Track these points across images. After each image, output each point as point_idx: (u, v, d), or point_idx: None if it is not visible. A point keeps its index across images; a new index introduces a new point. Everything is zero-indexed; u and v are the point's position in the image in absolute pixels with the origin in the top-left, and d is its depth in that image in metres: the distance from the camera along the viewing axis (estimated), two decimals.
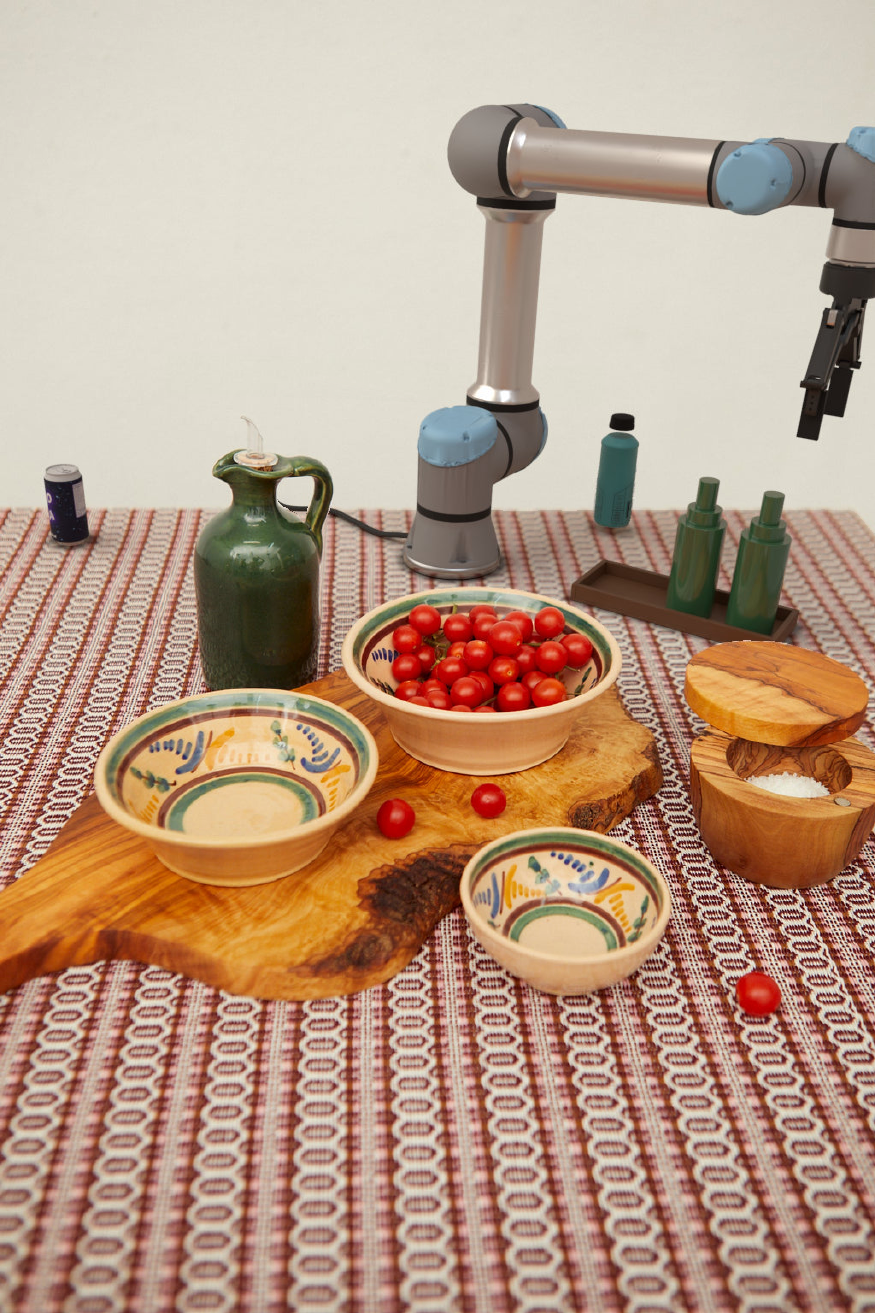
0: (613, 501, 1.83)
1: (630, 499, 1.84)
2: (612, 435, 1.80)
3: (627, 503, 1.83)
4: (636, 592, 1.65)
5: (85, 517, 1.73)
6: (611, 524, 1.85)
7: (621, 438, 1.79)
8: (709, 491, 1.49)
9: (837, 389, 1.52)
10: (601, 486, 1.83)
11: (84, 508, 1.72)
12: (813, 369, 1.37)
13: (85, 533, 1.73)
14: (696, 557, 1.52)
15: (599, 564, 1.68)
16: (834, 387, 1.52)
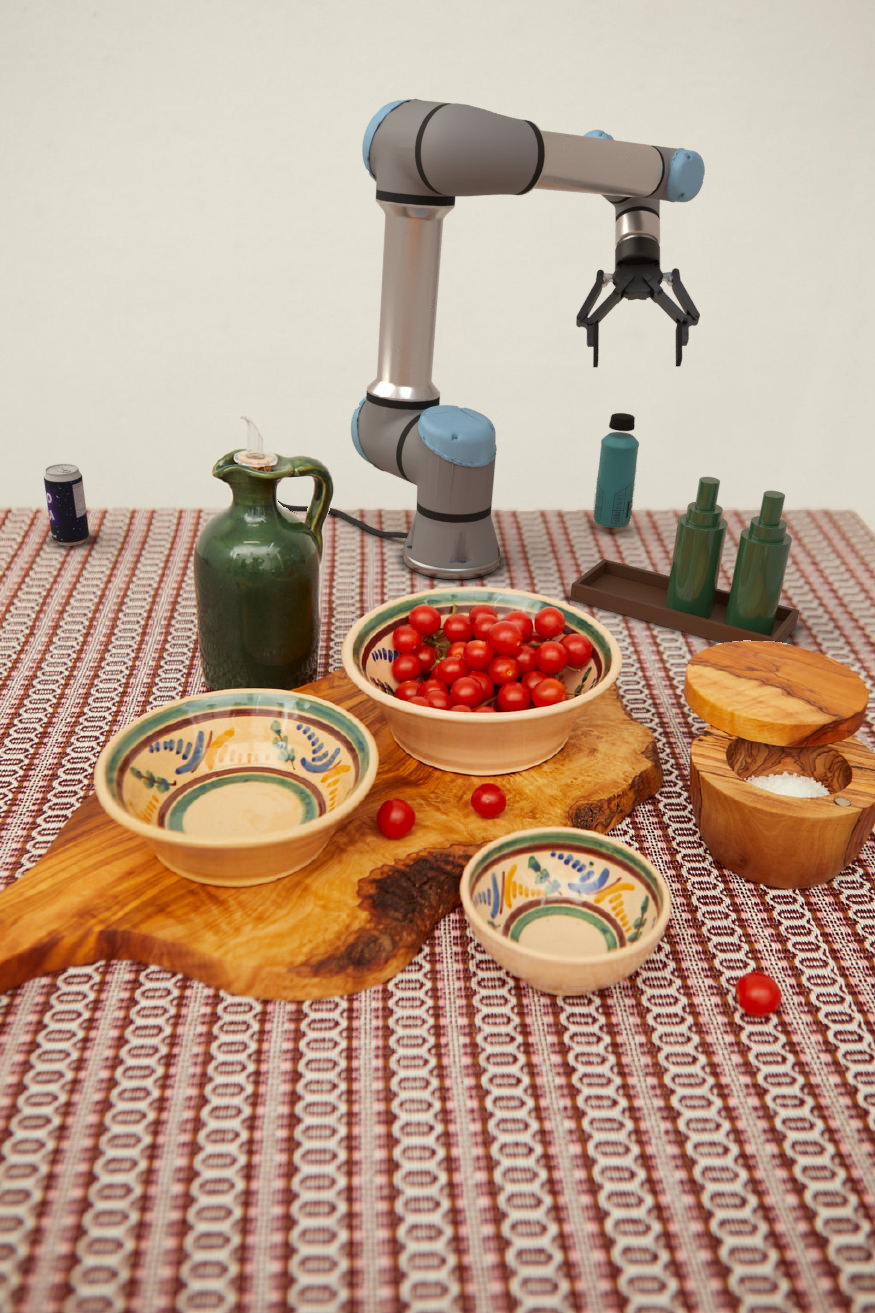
0: (613, 501, 1.83)
1: (630, 499, 1.84)
2: (612, 435, 1.80)
3: (627, 503, 1.83)
4: (636, 592, 1.65)
5: (85, 517, 1.73)
6: (611, 524, 1.85)
7: (621, 438, 1.79)
8: (709, 491, 1.49)
9: None
10: (601, 486, 1.83)
11: (84, 508, 1.72)
12: None
13: (85, 533, 1.73)
14: (696, 557, 1.52)
15: (599, 564, 1.68)
16: None
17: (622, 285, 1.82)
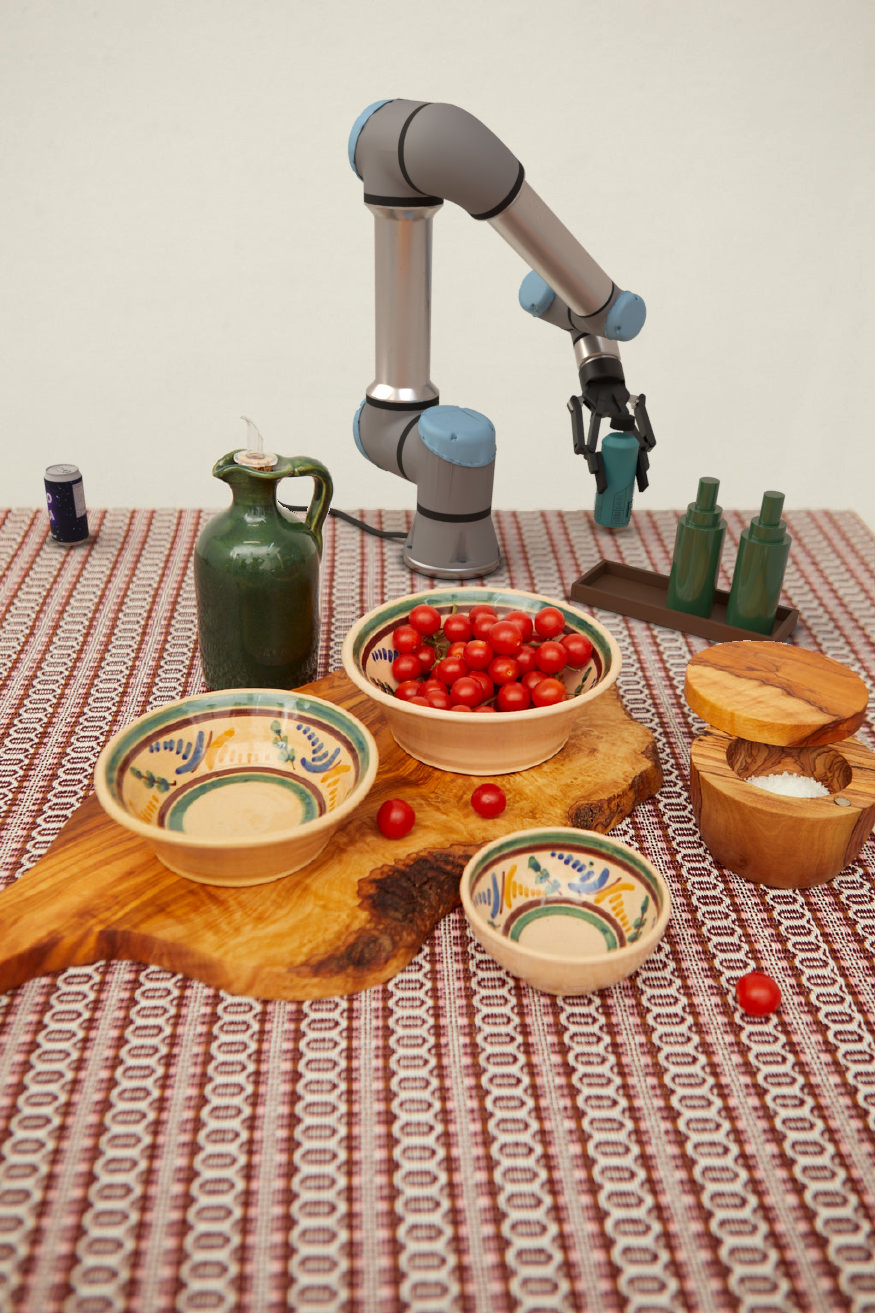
0: (614, 501, 1.83)
1: (630, 499, 1.84)
2: (612, 435, 1.80)
3: (627, 503, 1.83)
4: (636, 592, 1.65)
5: (85, 517, 1.73)
6: (611, 524, 1.85)
7: (621, 438, 1.79)
8: (709, 491, 1.49)
9: None
10: None
11: (84, 508, 1.72)
12: None
13: (85, 533, 1.73)
14: (696, 557, 1.52)
15: (599, 564, 1.68)
16: None
17: (601, 406, 1.83)
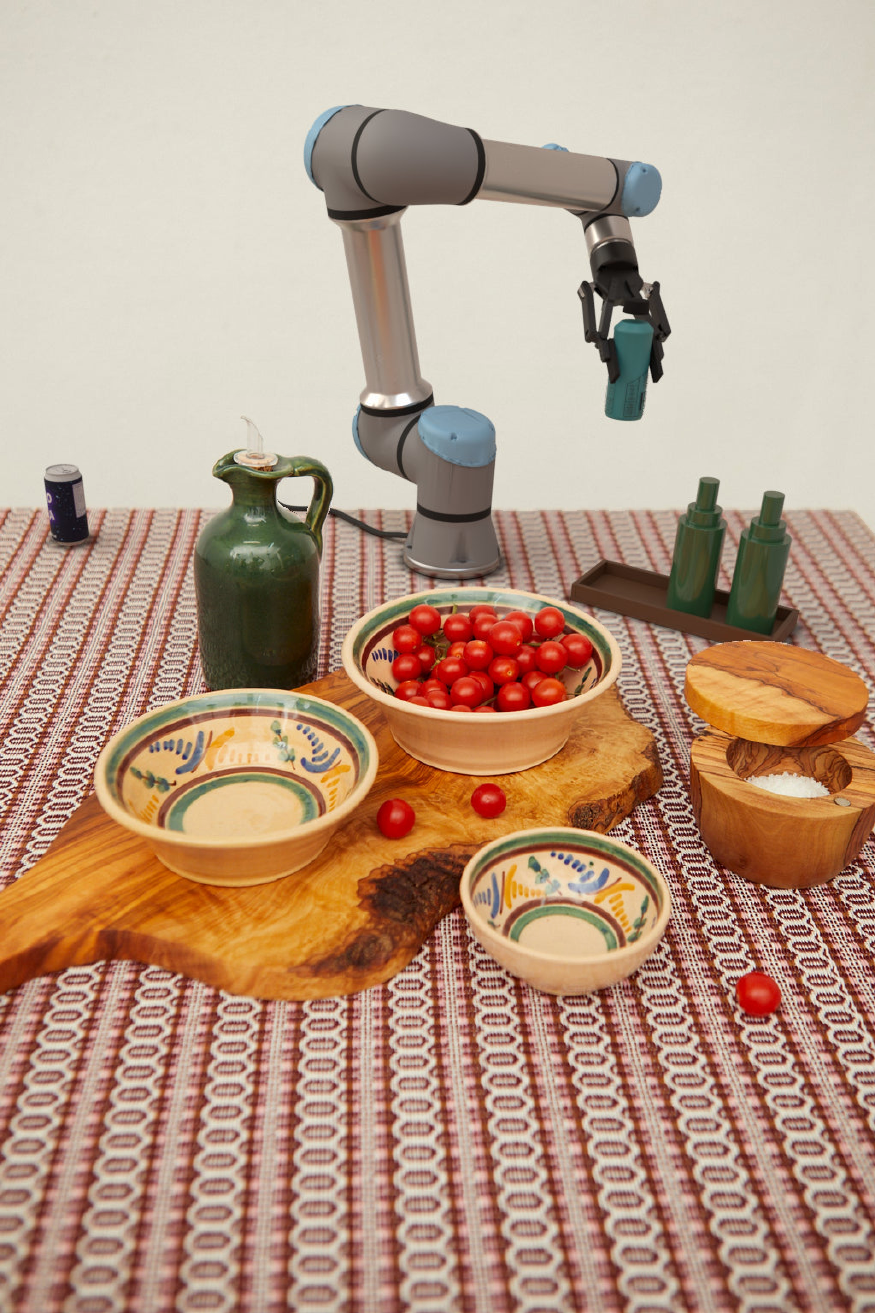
0: (626, 392, 1.74)
1: (643, 390, 1.75)
2: (625, 321, 1.72)
3: (640, 394, 1.75)
4: (636, 592, 1.65)
5: (85, 517, 1.73)
6: (623, 417, 1.76)
7: (635, 323, 1.70)
8: (709, 491, 1.49)
9: None
10: None
11: (84, 508, 1.72)
12: None
13: (85, 533, 1.73)
14: (696, 557, 1.52)
15: (599, 564, 1.68)
16: None
17: (613, 292, 1.74)
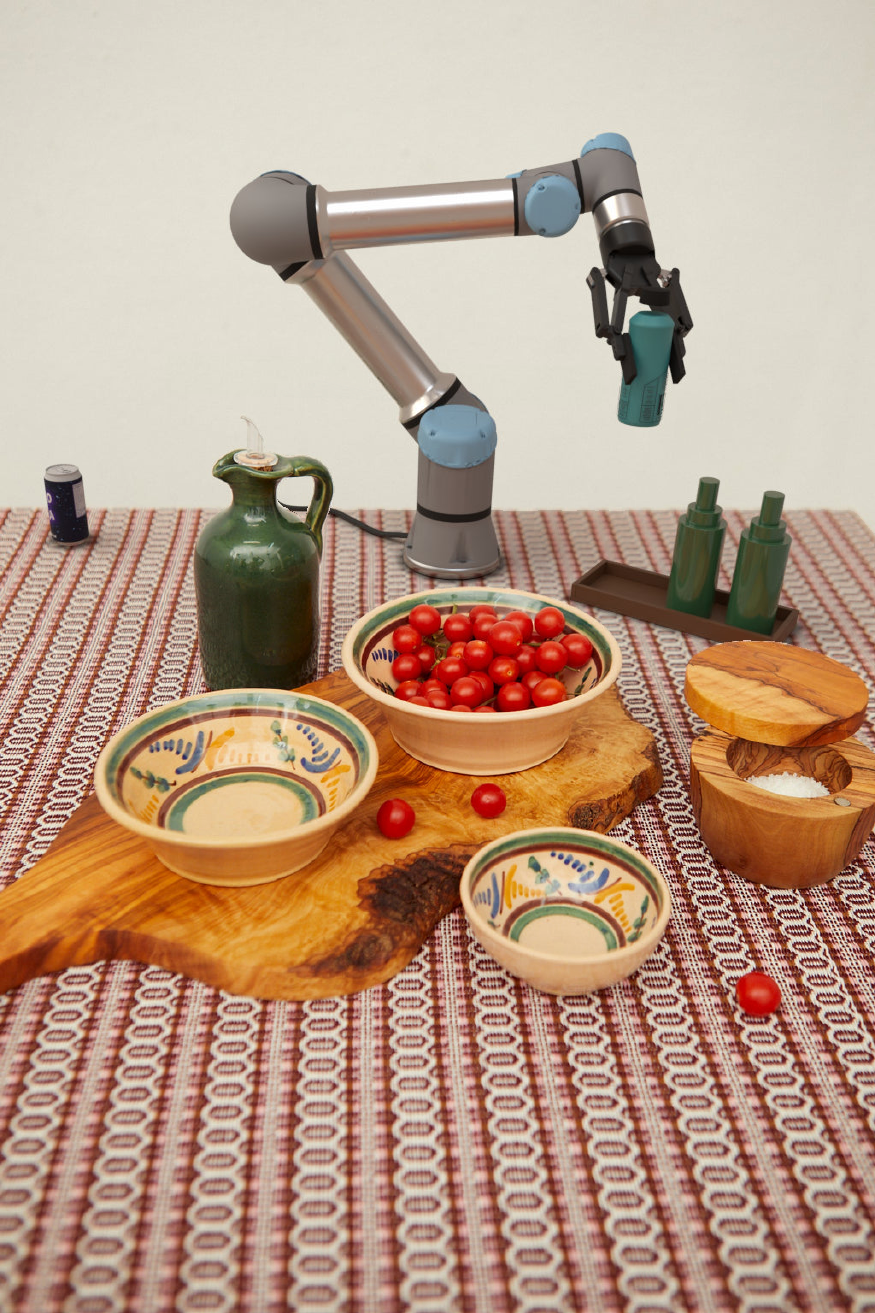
0: (643, 394, 1.52)
1: (662, 392, 1.53)
2: (642, 313, 1.50)
3: (659, 397, 1.53)
4: (636, 592, 1.65)
5: (85, 517, 1.73)
6: (639, 423, 1.54)
7: (654, 315, 1.49)
8: (709, 491, 1.49)
9: None
10: None
11: (84, 508, 1.72)
12: None
13: (85, 533, 1.73)
14: (696, 557, 1.52)
15: (599, 564, 1.68)
16: None
17: (627, 280, 1.53)
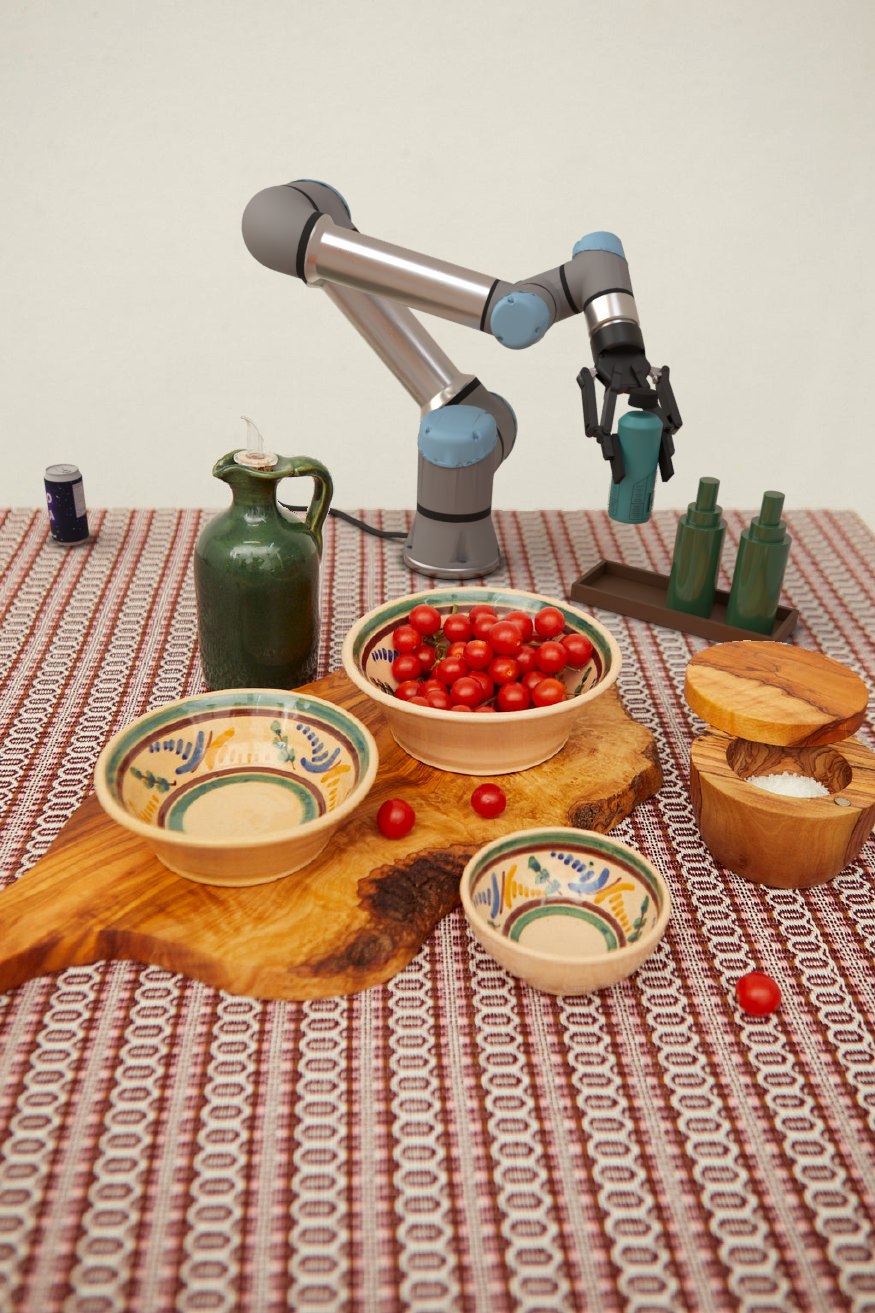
0: (632, 493, 1.54)
1: (652, 490, 1.55)
2: (631, 414, 1.52)
3: (648, 495, 1.55)
4: (636, 592, 1.65)
5: (85, 517, 1.73)
6: (629, 520, 1.56)
7: (642, 417, 1.50)
8: (709, 491, 1.49)
9: None
10: None
11: (84, 508, 1.72)
12: None
13: (85, 533, 1.73)
14: (696, 557, 1.52)
15: (599, 564, 1.68)
16: None
17: (617, 380, 1.54)
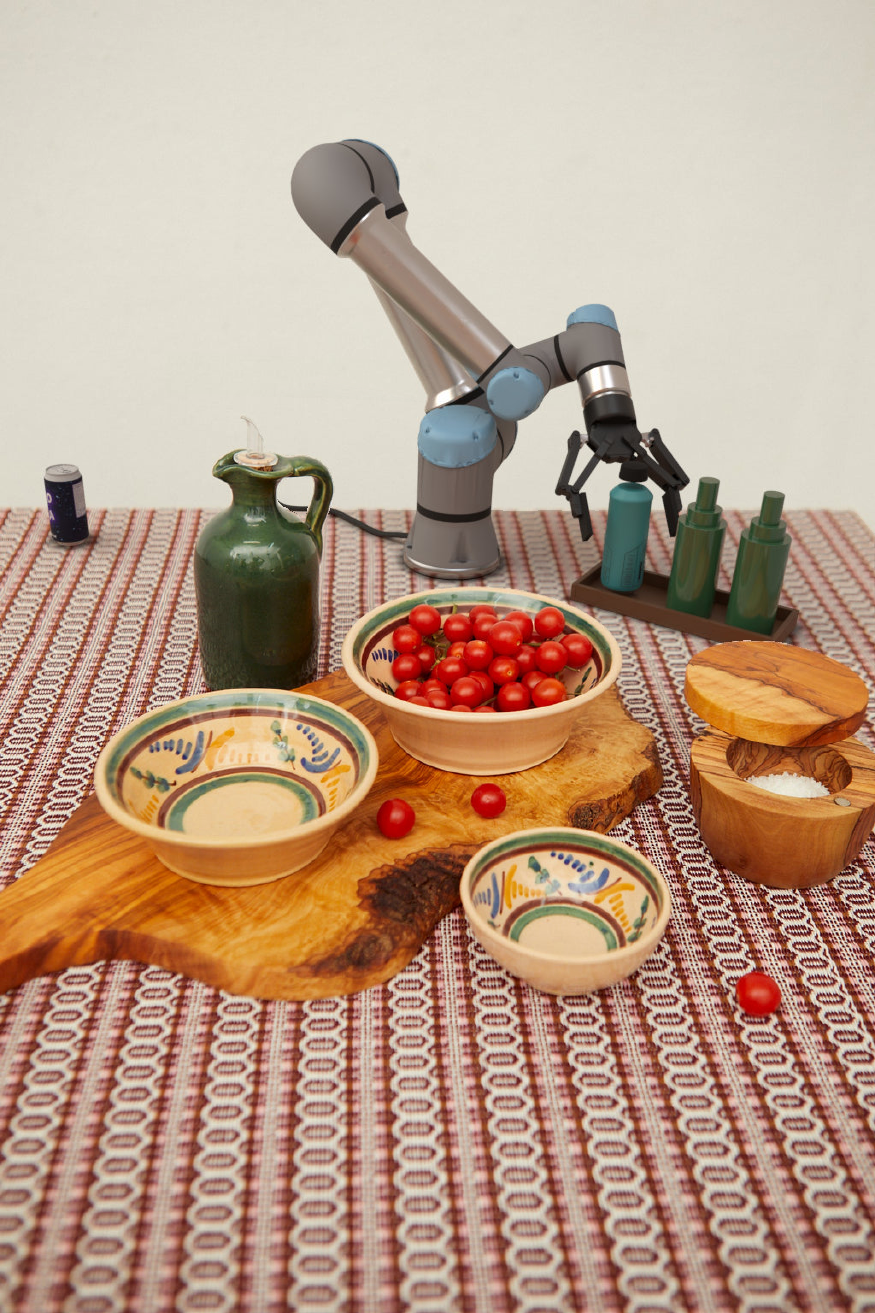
0: (624, 562, 1.59)
1: (643, 559, 1.60)
2: (622, 486, 1.57)
3: (639, 564, 1.60)
4: (636, 592, 1.65)
5: (85, 517, 1.73)
6: (621, 587, 1.61)
7: (632, 490, 1.55)
8: (709, 491, 1.49)
9: None
10: (609, 544, 1.59)
11: (84, 508, 1.72)
12: None
13: (85, 533, 1.73)
14: (696, 557, 1.52)
15: (599, 564, 1.68)
16: None
17: (603, 448, 1.59)
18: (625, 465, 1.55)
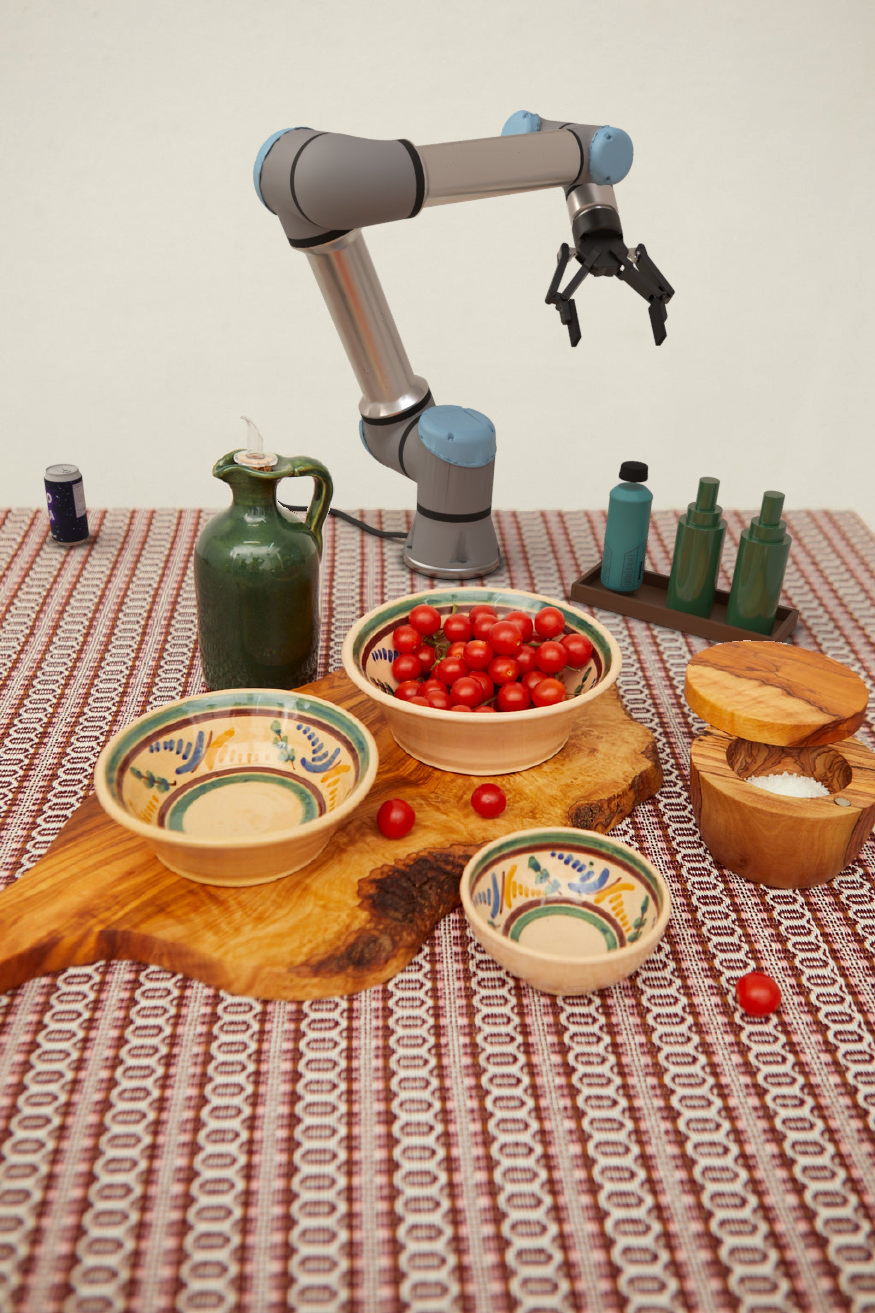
0: (624, 562, 1.59)
1: (643, 559, 1.60)
2: (622, 486, 1.57)
3: (639, 564, 1.60)
4: (636, 592, 1.65)
5: (85, 517, 1.73)
6: (621, 587, 1.61)
7: (632, 490, 1.55)
8: (709, 491, 1.49)
9: None
10: (609, 544, 1.59)
11: (84, 508, 1.72)
12: None
13: (85, 533, 1.73)
14: (696, 557, 1.52)
15: (599, 564, 1.68)
16: None
17: (591, 259, 1.66)
18: (625, 465, 1.55)
